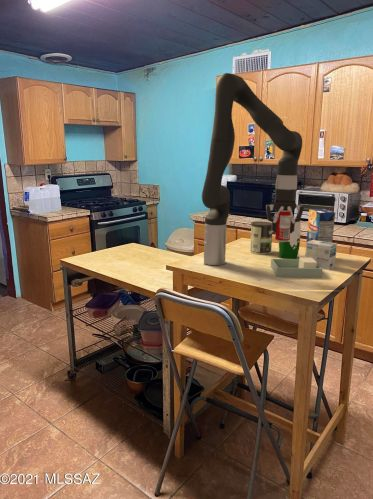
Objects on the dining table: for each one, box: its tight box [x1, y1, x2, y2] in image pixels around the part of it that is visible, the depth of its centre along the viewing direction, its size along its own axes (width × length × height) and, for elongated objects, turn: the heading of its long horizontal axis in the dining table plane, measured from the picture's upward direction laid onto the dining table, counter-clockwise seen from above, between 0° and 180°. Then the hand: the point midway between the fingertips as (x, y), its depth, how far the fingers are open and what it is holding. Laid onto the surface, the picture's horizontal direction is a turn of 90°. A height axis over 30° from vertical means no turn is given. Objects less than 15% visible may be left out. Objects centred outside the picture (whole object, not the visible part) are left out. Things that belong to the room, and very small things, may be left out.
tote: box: [270, 258, 323, 278], centre depth 154 cm, size 17×13×4 cm
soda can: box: [274, 210, 291, 242], centre depth 145 cm, size 6×6×12 cm
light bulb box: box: [304, 240, 338, 271], centre depth 162 cm, size 11×7×11 cm, turn 48°
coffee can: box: [249, 220, 274, 255], centre depth 185 cm, size 10×10×14 cm
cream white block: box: [298, 256, 317, 268], centre depth 154 cm, size 5×7×5 cm
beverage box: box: [304, 208, 336, 257], centre depth 173 cm, size 7×11×22 cm, turn 7°
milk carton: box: [278, 217, 302, 259], centre depth 174 cm, size 9×9×20 cm
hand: (282, 232), depth 146 cm, fingers closed on soda can, 5 cm apart
